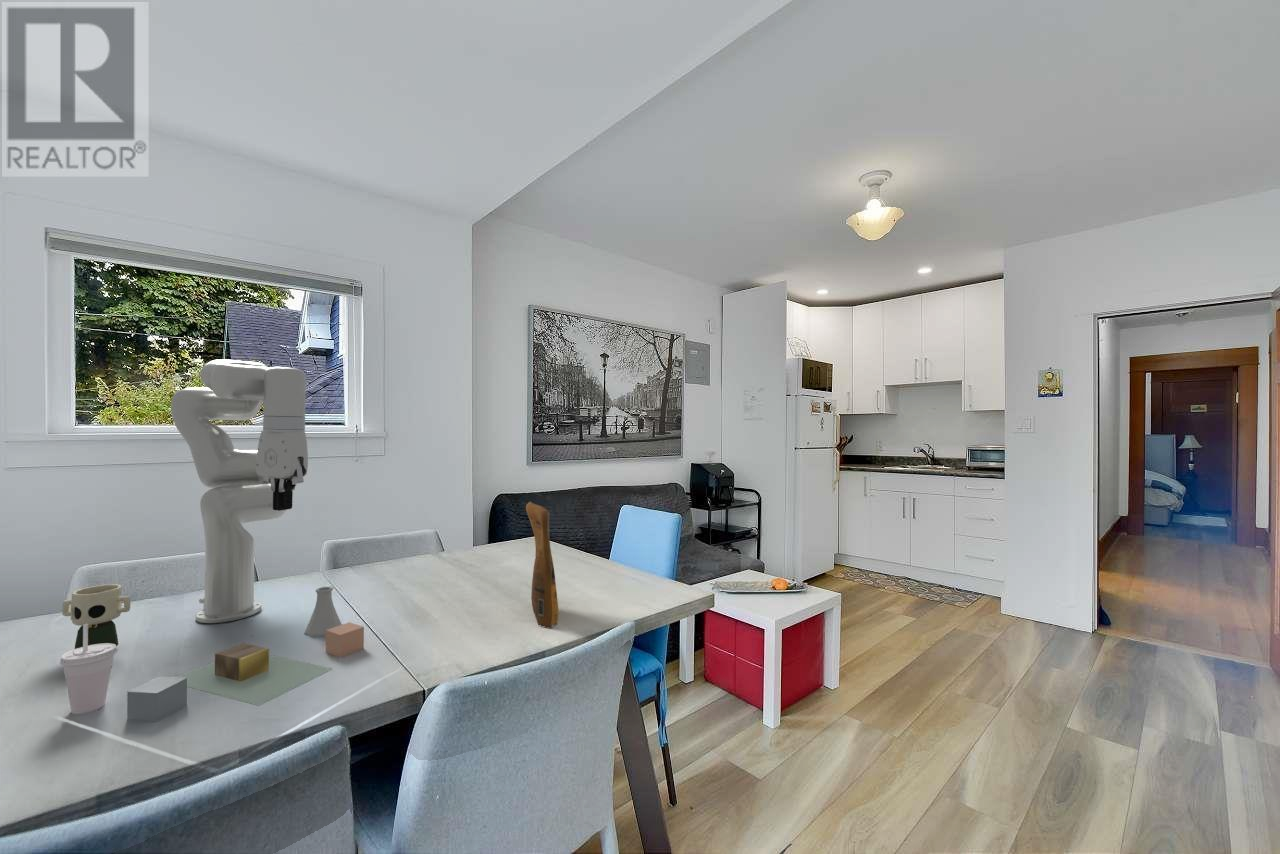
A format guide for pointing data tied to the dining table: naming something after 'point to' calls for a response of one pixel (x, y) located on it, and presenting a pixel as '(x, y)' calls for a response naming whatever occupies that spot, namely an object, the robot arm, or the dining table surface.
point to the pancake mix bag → (543, 569)
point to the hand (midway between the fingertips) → (282, 509)
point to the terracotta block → (344, 639)
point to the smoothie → (88, 674)
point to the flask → (323, 614)
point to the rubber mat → (255, 680)
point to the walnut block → (241, 662)
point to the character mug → (96, 612)
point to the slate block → (156, 699)
